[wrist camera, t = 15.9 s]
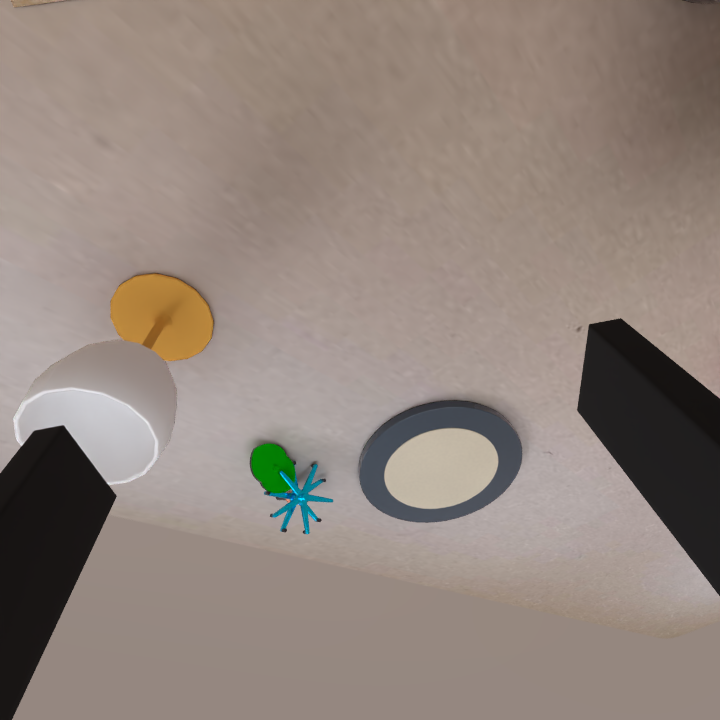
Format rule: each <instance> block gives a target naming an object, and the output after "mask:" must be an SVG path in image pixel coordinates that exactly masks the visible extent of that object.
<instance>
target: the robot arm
mask: <svg viewBox="0 0 720 720" xmlns="http://www.w3.org/2000/svg"><path fill="white" fill-rule="evenodd" d="M684 1H688V2H691V3H700V4H711V3H718V2H720V0H684ZM577 411H578V412H579V413H580V415H581V416H582V417H583V419H584V420H585V421H586V422H587V424H588V425H589V426H590V428H591V429H592V430H593V432H594V433H595V434H596V435H597V437H598V438H599V439H600V441H601V442H602V443H603V445H604V446H605V447H606V449H607V450H608V451H609V452H610V454H611V455H612V456H613V458H614V459H615V460H616V462H617V463H618V464H619V465H620V467H621V468H622V469H623V471H624V472H625V473H626V475H627V476H628V477H629V478H630V480H631V481H632V482H633V484H634V485H635V486H636V488H637V489H638V490H639V491H640V493H641V494H642V495H643V497H644V498H645V499H646V501H647V502H648V503H649V505H650V506H651V507H652V508H653V510H654V511H655V512H656V514H657V515H658V516H659V518H660V519H661V520H662V521H663V523H664V524H665V525H666V527H667V528H668V529H669V531H670V532H671V533H672V534H673V536H674V537H675V538H676V540H677V541H678V542H679V544H680V545H681V546H682V547H683V549H684V550H685V551H686V553H687V554H688V555H689V557H690V558H691V559H692V560H693V562H694V563H695V564H696V566H697V567H698V568H699V570H700V571H701V572H702V574H703V575H704V576H705V577H706V579H707V580H708V581H709V583H710V584H711V585H712V587H713V588H714V589H715V590H716V592H717V593H718V594H719V596H720V399H719V398H718V397H717V396H716V395H714V394H713V393H712V392H711V391H710V390H708V389H707V388H706V387H705V386H703V385H702V384H701V383H700V382H698V381H697V380H696V379H695V378H694V377H692V376H691V375H690V374H689V373H687V372H686V371H685V370H684V369H683V368H681V367H680V366H679V365H678V364H676V363H675V362H674V361H673V360H671V359H670V358H669V357H668V356H667V355H665V354H664V353H663V352H662V351H660V350H659V349H658V348H657V347H655V346H654V345H653V344H652V343H651V342H649V341H648V340H647V339H646V338H644V337H643V336H642V335H641V334H639V333H638V332H637V331H636V330H635V329H633V328H632V327H631V326H630V325H628V324H627V323H626V322H625V321H623V320H622V319H621V318H620V319H615V320H610V321H605V322H599V323H594V324H589V329H588V336H587V344H586V351H585V358H584V365H583V372H582V380H581V387H580V394H579V401H578V408H577ZM116 497H117V496H116V494H115V493H114V492H113V490H112V489H111V488H110V486H109V485H108V484H107V482H106V481H105V480H104V478H103V477H102V476H101V474H100V473H99V472H98V470H97V469H96V468H95V466H94V465H93V464H92V462H91V461H90V460H89V458H88V457H87V456H86V454H85V453H84V452H83V450H82V449H81V448H80V446H79V445H78V444H77V442H76V441H75V440H74V438H73V437H72V436H71V434H70V433H69V432H68V430H67V429H66V428H65V426H64V425H61V426H56V427H50V428H45V429H40V430H35V431H33V432H32V434H31V435H30V436H29V438H28V439H27V440H26V441H25V443H24V444H23V445H22V447H21V448H20V449H19V450H18V452H17V453H16V454H15V455H14V457H13V458H12V459H11V461H10V462H9V463H8V464H7V466H6V467H5V468H4V469H3V471H2V472H1V473H0V720H12V718H13V716H14V714H15V712H16V710H17V707H18V705H19V703H20V701H21V699H22V697H23V695H24V693H25V691H26V688H27V686H28V684H29V682H30V680H31V678H32V676H33V673H34V671H35V669H36V667H37V665H38V663H39V661H40V658H41V656H42V654H43V652H44V650H45V648H46V646H47V644H48V642H49V639H50V637H51V635H52V633H53V631H54V629H55V627H56V624H57V622H58V620H59V618H60V616H61V614H62V612H63V609H64V607H65V605H66V603H67V601H68V599H69V597H70V595H71V592H72V590H73V588H74V586H75V584H76V582H77V580H78V578H79V575H80V573H81V571H82V569H83V566H84V565H85V563H86V561H87V558H88V556H89V554H90V552H91V550H92V548H93V546H94V543H95V541H96V539H97V537H98V535H99V533H100V531H101V529H102V526H103V524H104V522H105V520H106V518H107V516H108V514H109V512H110V509H111V507H112V505H113V503H114V501H115V499H116Z"/></svg>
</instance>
